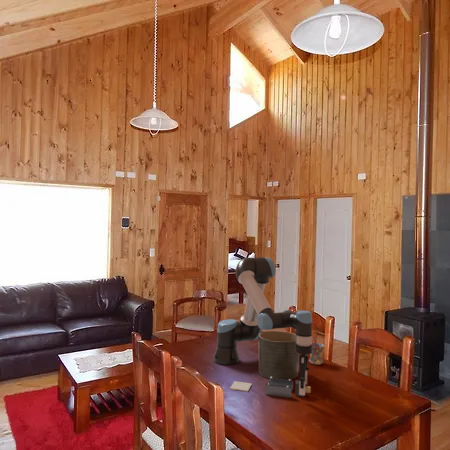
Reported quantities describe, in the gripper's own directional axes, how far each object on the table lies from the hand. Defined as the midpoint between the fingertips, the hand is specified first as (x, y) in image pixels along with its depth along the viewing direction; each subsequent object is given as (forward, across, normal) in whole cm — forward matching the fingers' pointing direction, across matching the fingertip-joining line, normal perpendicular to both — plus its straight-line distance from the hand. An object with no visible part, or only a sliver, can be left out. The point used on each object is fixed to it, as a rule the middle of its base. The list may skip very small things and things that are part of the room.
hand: (303, 389), depth 186 cm
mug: (+3, +48, -3) cm, 48 cm away
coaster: (+3, 0, +30) cm, 30 cm away
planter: (+3, +25, +15) cm, 30 cm away
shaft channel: (+3, 0, +11) cm, 12 cm away
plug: (+3, 0, 0) cm, 3 cm away
